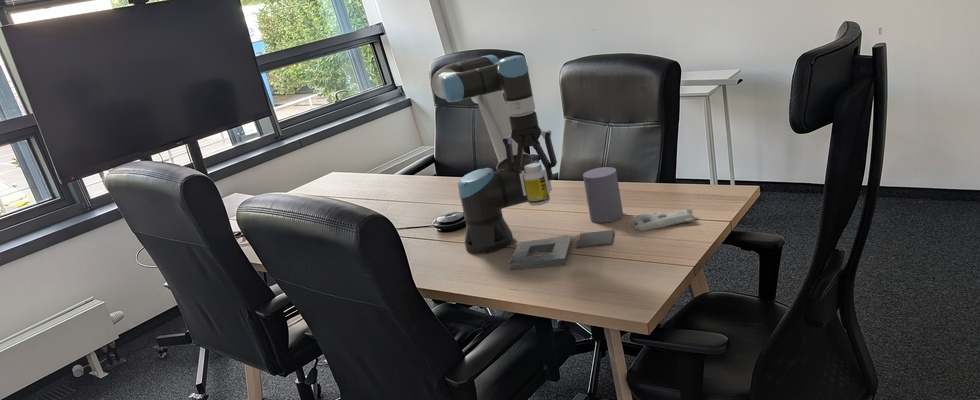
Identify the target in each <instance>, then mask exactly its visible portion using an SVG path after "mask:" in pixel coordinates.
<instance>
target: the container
mask: <svg viewBox="0 0 980 400" xmlns="http://www.w3.org/2000/svg"><path fill="white" fill-rule="evenodd" d="M582 178H583V183H584V190H585V194H586V202H587V206H588V212H589V218H590V221H591V222H594V223H596V224H597V223H598V224H606V223H612V222H615V221H618V220H619V219H621V218H622V217H623V216H624V211H623V205H622V199H621V193H620V187H619V182H618V181H619V180H618V173H617V169H616V168H615V167H612V166H611V167H610V166H609V167H608V166H603V167H596V168H593V169H590V170H587V171H585V172H584V173H582Z"/></svg>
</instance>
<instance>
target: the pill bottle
mask: <svg viewBox="0 0 980 400" xmlns="http://www.w3.org/2000/svg"><path fill="white" fill-rule="evenodd" d="M541 164H542V163H541V162H540V163H532V164H528V165H526V166H525V167H524V169H525V172H526V174H525V175H524V182H525V187H526V193H527V198H528V202H527V203H528V204H529V205H530V206H534V207H535V206H542V205H545V204H547V203H549V202H550V200H551V199H550V198H551V197H550V193H547V188H546V183H545V178H544V173H543V170H542V171H541V167H542V165H541Z"/></svg>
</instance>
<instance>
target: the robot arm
mask: <svg viewBox="0 0 980 400" xmlns="http://www.w3.org/2000/svg"><path fill="white" fill-rule="evenodd" d="M430 81H431V82H430V86H431V90H432V92H433V94H434V95H435V96H437V98H439V99H443V100H445V101H446V102H448V103H454V102H455V103H456V102H461V101H465V100H467V99H468V100H469V99H471V101H472V102H473V103H474V104H476V105H477V104H478V107H479V110H480V112H481V116H482V118H483V121H484V124H485V127H486V130H487V133H488V135H489V138H490V140H491V144H492V147H493V149H494V153H495V154H496V157H497V160H498V163H497V165H496V171H494V170H493V169H492V168H491V167H485V168H478V169H475V170H473V171H471V172H468V173H467V174H464V176H462V177H461V178H460V179H459V181H458V182H457V188H458V196H459V199H460V203H461V207H462V212H463V216H464V221H465V225H466V227H465V236H464V246H465V250H466V252H468V253H471V254H477V255H480V254H489V253H493V252H497V251H500V250H503V249H505V248H507V247H508V246H510V245H511V244H512V243H513V241H514V236H513V232H512V230H511V229H510V227H509V225H508V224H507V222H506V220H505V218H504V216H503V211H502V209H505V208H510V207H513V206H517V205H520V204H525V203H529V202H528V198H527V193H526V187H525V182H524V175H525V174H526V172H525V169H524V167H525V166H526V165H528V164H532V163H540V164H542V166H543V167H544V169H543V167H542V166H541V171H543V173H544V178H545V183H546V188H547V193H549V194H551V192H552V190H553V189H552V188H553V187H552V183H551V181H552V180H553V179H554V176H553V175H554V174H553V169H552V168H554V167H556V166H557V163H558V161H557V156H556V154H555V150H554V149H555V148H554V145H553V142H552V131H551V130H542V128H540V125H539V119H538V116H537V111H535V110H536V105H535V100H534V94H533V90H532V89H533V88H532V83H531V79H530V74H529V66H528V64H527V60H526V57H525V56H524V55H522V54H521V55H520V54H519V55H517V54H515V55H511V56H506V57H504V58H501V59H499V57H497V56H496V55H494V54H488V55H481V56H479V57H475V58H470V59H466V60H462V61H457V62H453V63H449V64H447V65H445V66H443V67H441V68H440V69H439V70H437V71H436V72H435V73H434V74H433V75H432V77H431V80H430ZM541 136H542V139H543V140H544V143H545V147H546V151H547V154H548V157H547V154H546V153H545V151H544V149H543V147H542V145H541V142H540V140H539V139H540V137H541ZM526 147H532V148H533V149H534V151H536V154H537V156H538V157H539V159H540V161H541V162H540V161H539V160H533V158H532V156H531V155H530V154H529V153H526V152H525V149H524V148H526Z"/></svg>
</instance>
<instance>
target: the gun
mask: <svg viewBox="0 0 980 400" xmlns="http://www.w3.org/2000/svg"><path fill="white" fill-rule="evenodd" d="M695 220H696V217H695V215H693V210H692V209H690V208H689V209H684V210H679V211H678V210H677V211H674V212H667V211H666V212H659V211H651V212H647V213H642V214H638V215H636V216H634V217H633V218H632V219H631V220H630V224H631V225H635V226H634V229H636V230H638V231H641V232H642V231H643V232H644V231H650V230H655V229H656V230H657V229H661V228H667V227H669V226H674V225H678V224H684V223H689V222H693V221H695Z"/></svg>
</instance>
